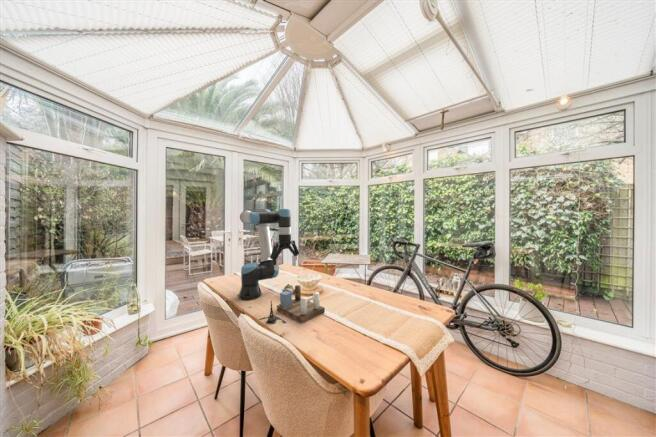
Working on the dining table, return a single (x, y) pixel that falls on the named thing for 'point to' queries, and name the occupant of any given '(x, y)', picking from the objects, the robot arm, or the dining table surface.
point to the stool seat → (295, 309)
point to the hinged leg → (305, 300)
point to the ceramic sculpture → (289, 289)
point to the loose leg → (286, 299)
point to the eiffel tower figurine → (272, 317)
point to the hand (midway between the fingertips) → (285, 267)
